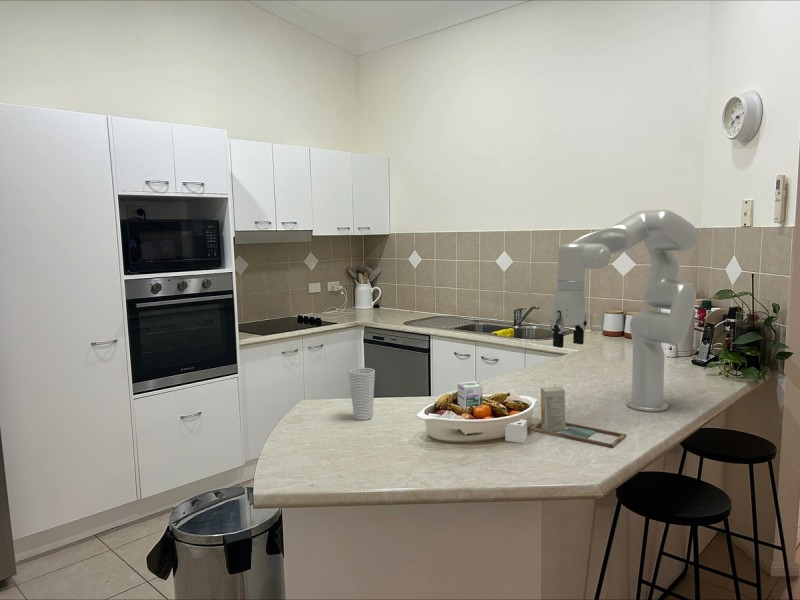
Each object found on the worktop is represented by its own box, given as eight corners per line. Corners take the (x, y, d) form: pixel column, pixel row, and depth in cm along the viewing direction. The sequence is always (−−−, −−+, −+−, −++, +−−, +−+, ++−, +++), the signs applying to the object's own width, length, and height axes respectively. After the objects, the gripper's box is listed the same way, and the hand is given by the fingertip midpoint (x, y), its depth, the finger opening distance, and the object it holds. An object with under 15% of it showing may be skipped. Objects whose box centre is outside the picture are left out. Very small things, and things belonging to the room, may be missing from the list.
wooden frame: (546, 421, 179) (546, 418, 178) (626, 436, 163) (626, 434, 163) (530, 430, 170) (530, 427, 170) (612, 448, 155) (612, 445, 155)
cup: (360, 412, 192) (358, 366, 191) (381, 415, 188) (380, 369, 186) (344, 419, 185) (343, 372, 183) (366, 423, 181) (365, 374, 179)
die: (509, 435, 167) (509, 418, 166) (527, 437, 165) (527, 419, 164) (505, 440, 163) (505, 423, 162) (523, 443, 160) (523, 425, 160)
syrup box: (465, 435, 168) (464, 386, 166) (457, 429, 173) (457, 382, 172) (483, 433, 169) (483, 385, 167) (475, 427, 175) (475, 380, 173)
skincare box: (561, 426, 174) (561, 386, 172) (565, 430, 170) (566, 390, 168) (540, 426, 174) (540, 386, 172) (544, 431, 169) (544, 390, 168)
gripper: (577, 285, 175) (574, 341, 177) (540, 287, 164) (539, 346, 166) (599, 286, 169) (596, 344, 171) (563, 288, 159) (561, 350, 160)
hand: (568, 345), depth 168 cm, fingers open, 9 cm apart
